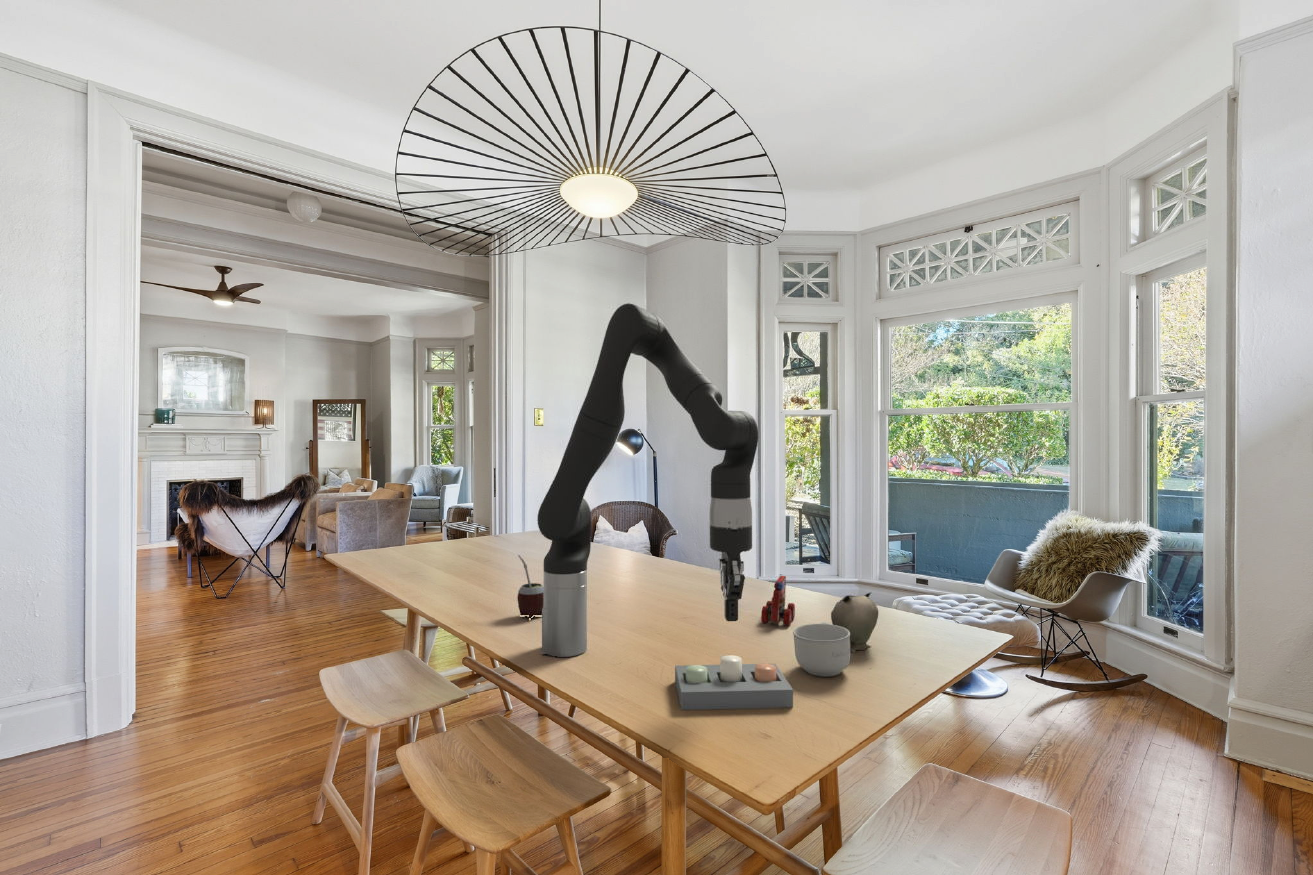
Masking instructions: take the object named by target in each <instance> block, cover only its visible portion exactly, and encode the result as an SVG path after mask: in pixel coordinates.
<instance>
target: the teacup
mask: <svg viewBox="0 0 1313 875" xmlns="http://www.w3.org/2000/svg"><path fill="white" fill-rule="evenodd" d="M792 634H793V645H794V654H795V659H796V662H797V664H798V665H799V666H800V668H802V669H803V670H805V672H807V673H808V674H809V675H813V676H816V677H824V678H825V677H834V676H837V675H840V674H841V673H842V671H844V670H846V669H847V667H848V666H849V664H850V660H851V652H850V632H849V630H847V629H846V628H843V627H841V626H837V625H833V624H830V623H829V622H828V621H822V622H821V623H809V624H803V625H799V626H797V627H795V628H793V630H792Z"/></svg>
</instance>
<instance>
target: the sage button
mask: <svg viewBox="0 0 1313 875" xmlns="http://www.w3.org/2000/svg"><path fill="white" fill-rule="evenodd" d="M689 665H690V666H688V667H686V683H707V668H706V667H705V666H702V665H703V664H692V665H691V664H689Z"/></svg>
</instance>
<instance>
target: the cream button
mask: <svg viewBox="0 0 1313 875" xmlns="http://www.w3.org/2000/svg"><path fill="white" fill-rule="evenodd" d="M719 662H720V664H719V665H720V682H742V664H743V659H742V658H741V657H740V656H738V655H731V654H730V655H723V656H721V657H720V661H719Z"/></svg>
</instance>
